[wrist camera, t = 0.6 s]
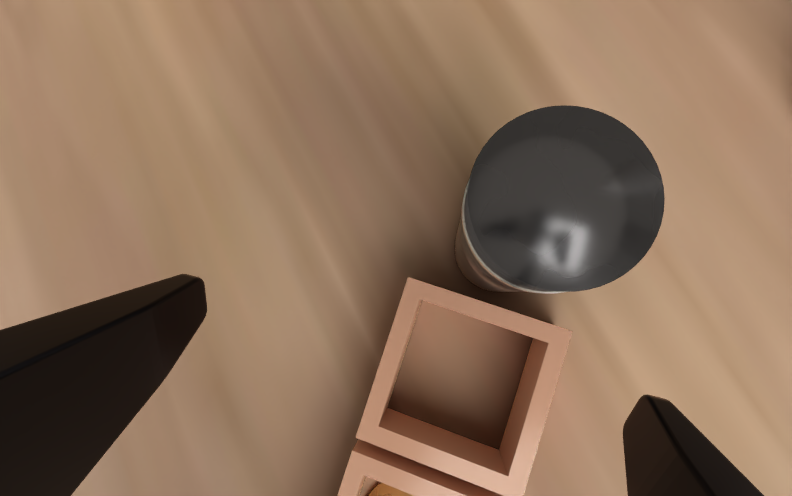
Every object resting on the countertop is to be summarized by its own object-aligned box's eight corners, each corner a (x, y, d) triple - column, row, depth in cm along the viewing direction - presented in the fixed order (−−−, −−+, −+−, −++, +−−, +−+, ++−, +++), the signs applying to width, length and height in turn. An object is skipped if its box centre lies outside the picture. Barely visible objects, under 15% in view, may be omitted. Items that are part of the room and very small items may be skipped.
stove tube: (528, 304, 21) (635, 321, 9) (442, 276, 22) (440, 258, 10) (554, 220, 22) (690, 132, 10) (468, 195, 22) (498, 82, 10)
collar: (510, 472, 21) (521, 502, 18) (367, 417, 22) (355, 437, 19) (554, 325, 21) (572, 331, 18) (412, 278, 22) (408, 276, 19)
